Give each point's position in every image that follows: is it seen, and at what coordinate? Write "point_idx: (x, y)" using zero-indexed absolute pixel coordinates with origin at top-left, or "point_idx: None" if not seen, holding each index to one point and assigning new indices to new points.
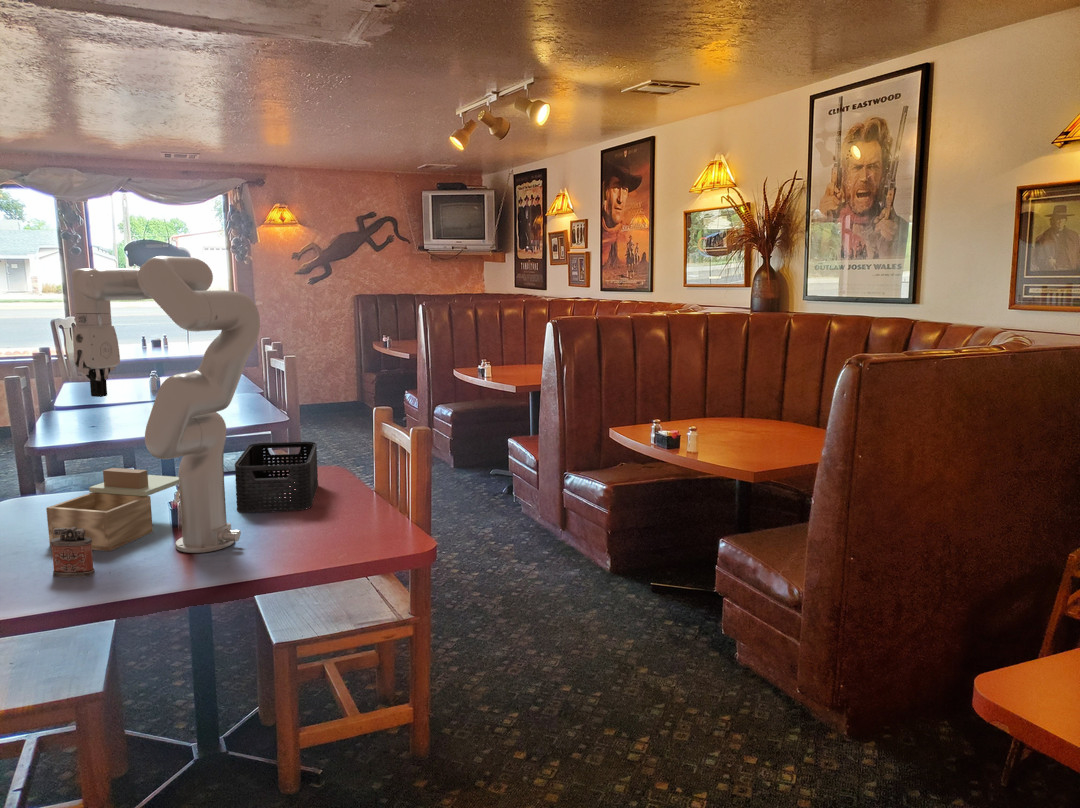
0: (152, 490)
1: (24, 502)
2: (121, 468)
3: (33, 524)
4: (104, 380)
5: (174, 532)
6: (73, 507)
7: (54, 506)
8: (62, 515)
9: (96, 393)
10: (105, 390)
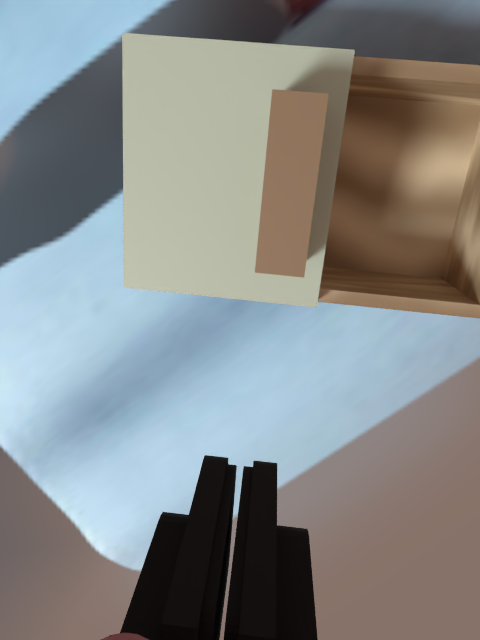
0: (318, 48)
1: (146, 542)
2: (260, 226)
3: (291, 427)
4: (195, 625)
5: (315, 4)
6: (396, 290)
7: (475, 305)
8: None
9: (302, 529)
10: (217, 496)
